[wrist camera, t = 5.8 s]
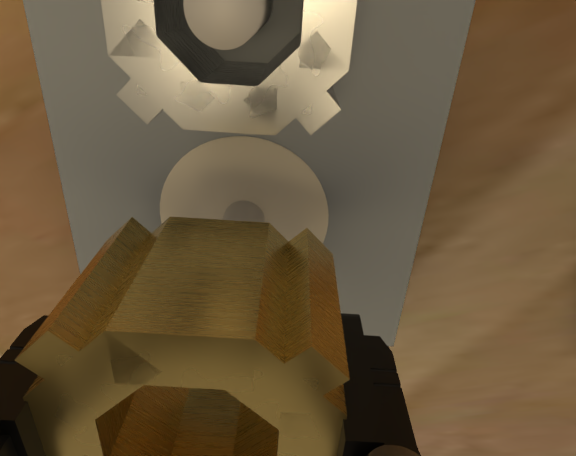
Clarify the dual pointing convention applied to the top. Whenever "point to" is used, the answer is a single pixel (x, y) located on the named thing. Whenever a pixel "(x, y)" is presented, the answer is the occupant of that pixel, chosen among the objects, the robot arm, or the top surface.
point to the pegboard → (264, 138)
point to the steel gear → (228, 69)
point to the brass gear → (194, 346)
